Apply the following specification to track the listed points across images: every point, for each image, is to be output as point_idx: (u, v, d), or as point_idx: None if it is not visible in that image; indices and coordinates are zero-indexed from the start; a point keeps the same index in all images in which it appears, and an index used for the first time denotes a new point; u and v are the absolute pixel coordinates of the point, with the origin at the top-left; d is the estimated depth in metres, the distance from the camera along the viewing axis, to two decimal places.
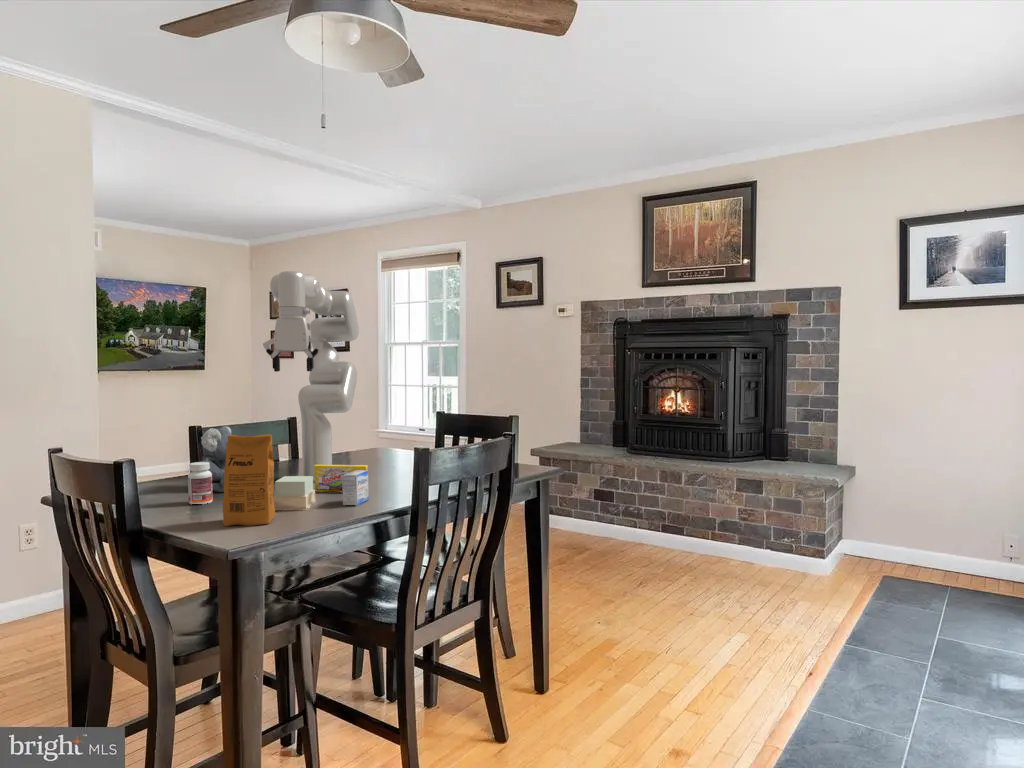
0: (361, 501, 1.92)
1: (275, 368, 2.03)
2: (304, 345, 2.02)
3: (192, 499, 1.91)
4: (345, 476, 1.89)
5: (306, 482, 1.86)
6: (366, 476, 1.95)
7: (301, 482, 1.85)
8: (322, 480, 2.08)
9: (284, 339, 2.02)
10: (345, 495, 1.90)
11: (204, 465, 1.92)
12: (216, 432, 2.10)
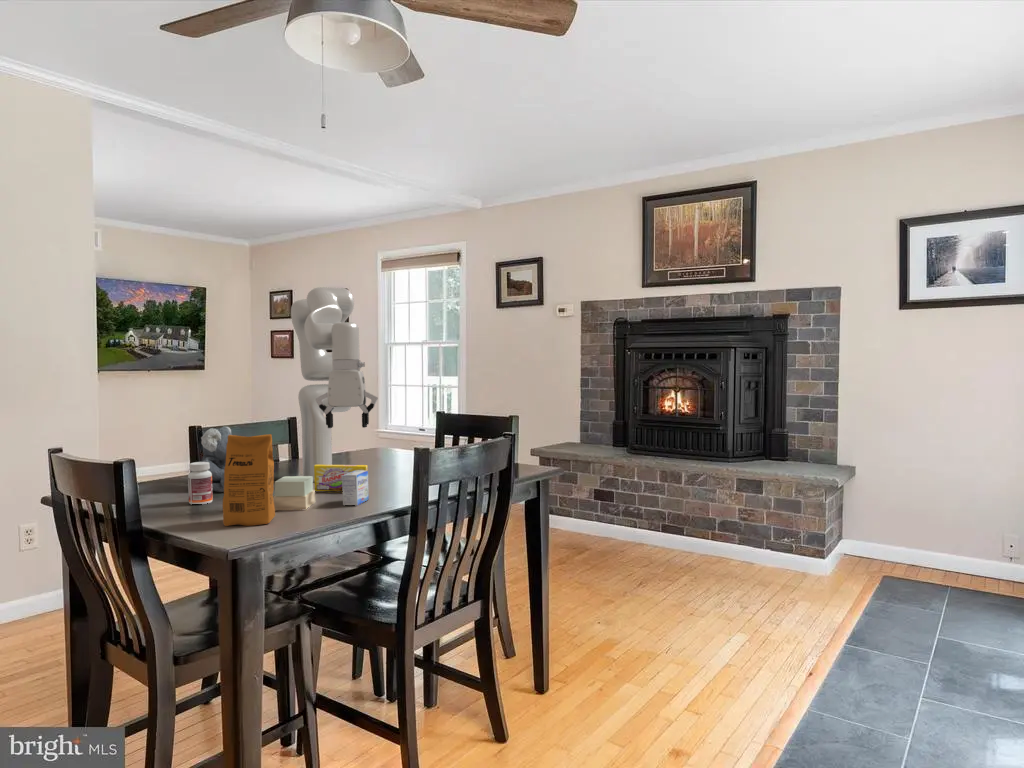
0: (361, 501, 1.92)
1: (329, 425, 1.92)
2: (359, 400, 1.91)
3: (192, 499, 1.91)
4: (345, 476, 1.89)
5: (305, 482, 1.86)
6: (366, 476, 1.95)
7: (301, 482, 1.85)
8: (322, 480, 2.08)
9: (338, 394, 1.91)
10: (345, 495, 1.90)
11: (204, 465, 1.92)
12: (216, 432, 2.10)
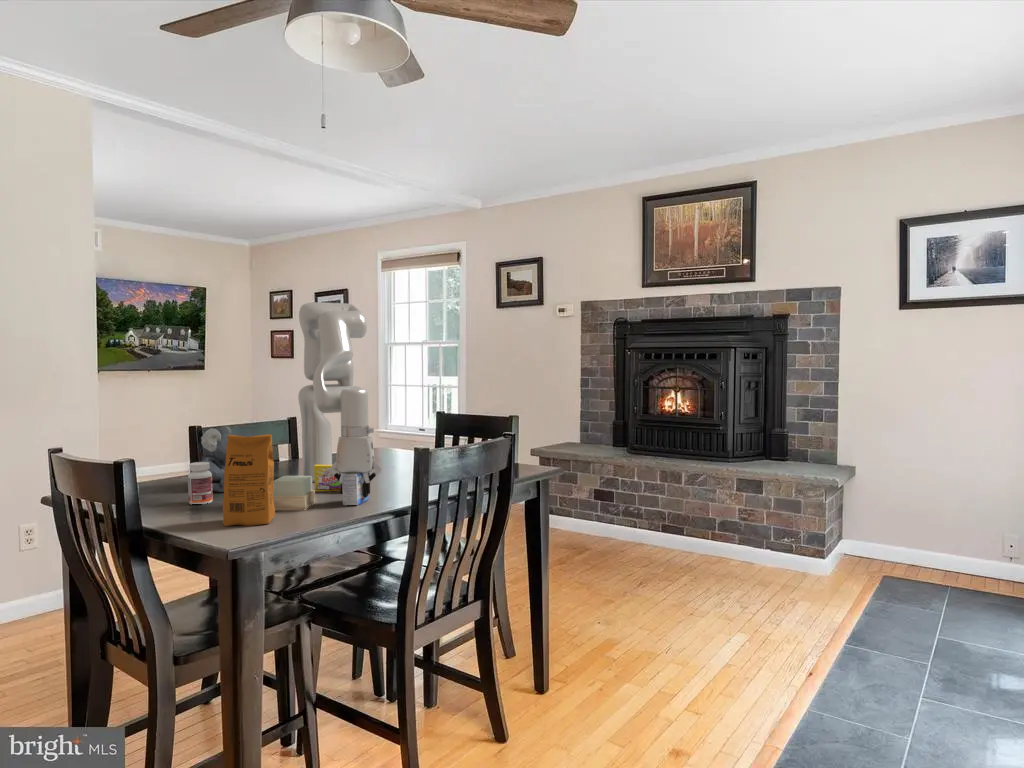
0: (361, 501, 1.92)
1: None
2: (368, 466, 1.91)
3: (192, 499, 1.91)
4: (345, 476, 1.89)
5: (304, 481, 1.86)
6: None
7: (299, 482, 1.85)
8: (322, 480, 2.08)
9: (347, 460, 1.90)
10: (345, 495, 1.90)
11: (204, 465, 1.92)
12: (216, 432, 2.10)
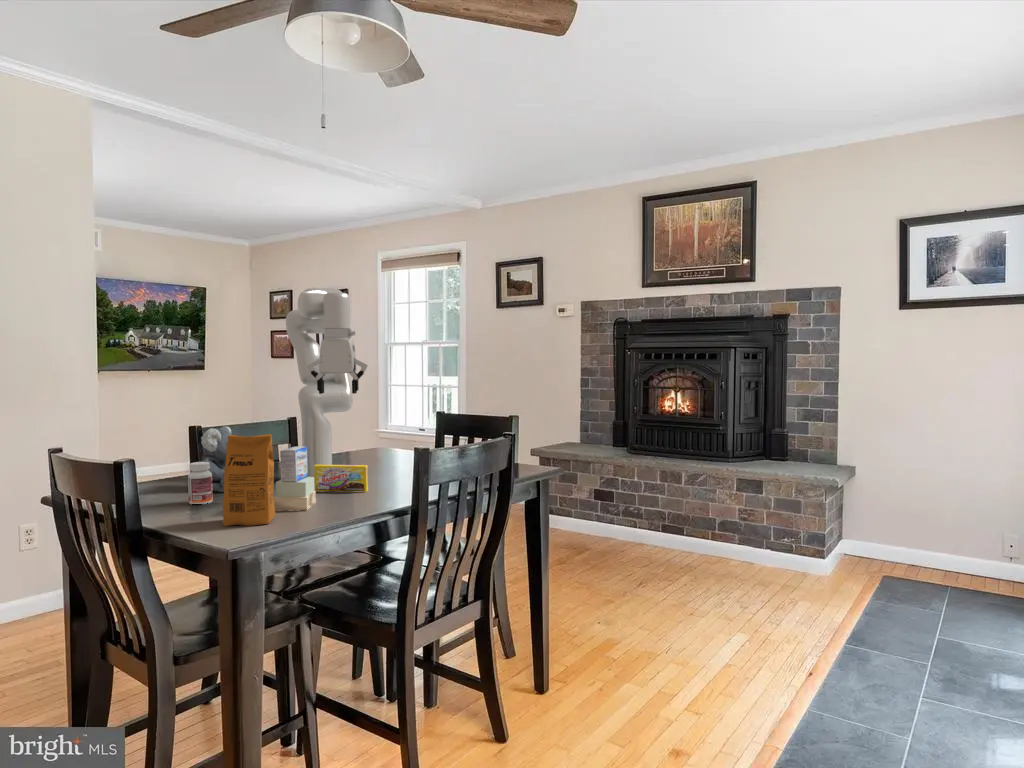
0: (300, 477, 1.87)
1: (320, 390, 2.00)
2: (349, 367, 1.99)
3: (192, 499, 1.91)
4: (284, 451, 1.84)
5: (306, 482, 1.85)
6: (305, 452, 1.91)
7: (302, 483, 1.84)
8: (322, 480, 2.08)
9: (329, 361, 1.99)
10: (283, 471, 1.85)
11: (204, 465, 1.92)
12: (216, 432, 2.10)
